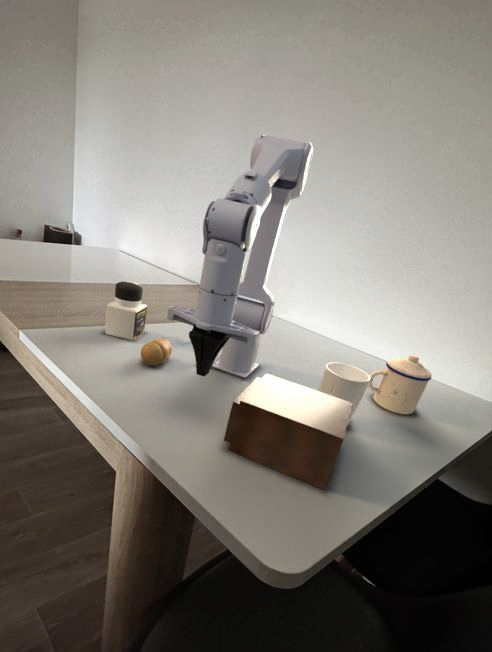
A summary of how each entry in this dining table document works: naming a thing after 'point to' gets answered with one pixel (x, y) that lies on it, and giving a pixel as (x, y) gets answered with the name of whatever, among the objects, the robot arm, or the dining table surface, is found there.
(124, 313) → the medicine bottle
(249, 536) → the dining table surface
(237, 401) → the drawer
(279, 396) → the cabinet
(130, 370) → the dining table surface
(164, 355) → the bread roll
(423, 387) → the teacup with lid
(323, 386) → the white cup
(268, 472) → the dining table surface
